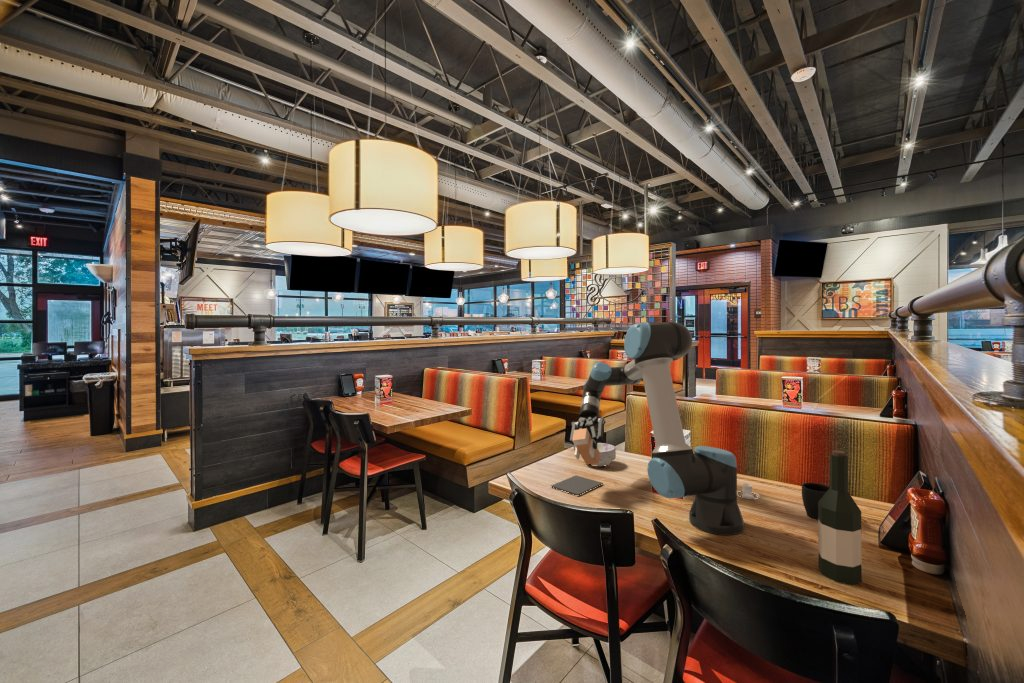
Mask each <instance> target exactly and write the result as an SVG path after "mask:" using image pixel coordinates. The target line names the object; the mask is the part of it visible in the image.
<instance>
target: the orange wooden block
mask: <svg viewBox="0 0 1024 683" xmlns="http://www.w3.org/2000/svg"><path fill="white" fill-rule="evenodd" d="M591 439H593V436H592V434H590V432H589V430H588V429H587V428H585V429H579V428H578V429H577V430H574V434H573V440H572V441H573V443H574V444H575V446H576V448H577V449H578V451H579V453H580V457H581V458H582V459H583V461H584V463H585V465H588V466H589V464H597V463H599V457H600V452H599V450H598V448H597V449H595V451H594V458H592V457H591V456H590V454H589V450H590V442H591Z"/></svg>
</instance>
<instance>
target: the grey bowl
mask: <svg viewBox="0 0 1024 683" xmlns="http://www.w3.org/2000/svg"><path fill="white" fill-rule="evenodd" d="M597 448H598V450H599V452H600V457H599V463H597V464H591V465H597V466H604V465H608V466H610V465H611V464H612V461H614V460H616V457H617V456H616V454H617V453H616V451H617V449H616V447H615V445H612V444H609V443H606V442H603V443H602V442H598V443H597ZM610 463H611V464H610ZM609 464H610V465H609Z"/></svg>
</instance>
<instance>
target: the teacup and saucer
mask: <svg viewBox="0 0 1024 683" xmlns="http://www.w3.org/2000/svg"><path fill="white" fill-rule="evenodd" d="M741 487H742V489H741V490H737V492H741V491H743V492H741V493H743V494H742V495H740V494H739V495H740V496H739V495H737V497H739V498H742V499H745V500H746V499H747V500H759V499H760V498H761V495H760V494H758V493H756V492H754V491H753V485H752V484H750V483H747V482H744V483H742V484H741ZM752 493H754V494H756V495H757V496H758V497H757V498H756V497H755V496H756V495H755V496H754V494H752ZM741 496H742V497H741Z"/></svg>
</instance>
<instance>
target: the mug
mask: <svg viewBox="0 0 1024 683" xmlns="http://www.w3.org/2000/svg"><path fill="white" fill-rule="evenodd" d="M829 489H830V486H828V485H826V484H821V483H816V482H804V483H802V484H801V499H802V503H803V507H804V510H805V514H806V516H807V517H808V518H811V519H812V520H815V521H818V501H819V500H820V499H821V498H822V497H823V496H824V494H825V493H826V492H827V491H828V490H829Z"/></svg>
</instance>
